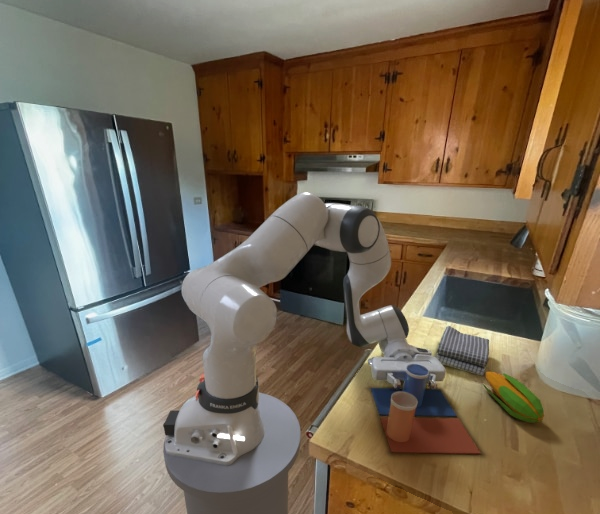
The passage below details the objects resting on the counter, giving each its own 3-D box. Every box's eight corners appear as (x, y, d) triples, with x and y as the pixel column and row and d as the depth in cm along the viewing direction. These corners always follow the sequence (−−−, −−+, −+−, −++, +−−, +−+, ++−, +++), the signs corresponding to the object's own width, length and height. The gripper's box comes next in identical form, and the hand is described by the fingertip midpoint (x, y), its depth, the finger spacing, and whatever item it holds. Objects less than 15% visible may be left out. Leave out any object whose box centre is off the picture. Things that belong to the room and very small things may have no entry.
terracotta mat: (391, 452, 73) (391, 451, 73) (380, 418, 83) (380, 417, 83) (480, 454, 73) (480, 453, 73) (458, 419, 84) (458, 418, 84)
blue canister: (404, 407, 87) (409, 376, 83) (398, 394, 92) (403, 363, 88) (425, 408, 87) (432, 376, 83) (418, 394, 92) (424, 363, 88)
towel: (432, 365, 107) (437, 344, 104) (440, 341, 122) (444, 322, 119) (485, 379, 100) (491, 357, 97) (486, 352, 115) (491, 332, 112)
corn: (531, 406, 77) (478, 360, 96) (520, 431, 80) (470, 382, 98) (558, 405, 78) (500, 360, 97) (546, 430, 81) (492, 382, 100)
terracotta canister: (389, 442, 76) (394, 407, 72) (383, 424, 81) (388, 391, 77) (414, 443, 76) (421, 408, 72) (406, 424, 81) (412, 391, 77)
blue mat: (379, 415, 84) (379, 414, 84) (370, 388, 95) (370, 388, 94) (456, 416, 85) (456, 415, 84) (439, 390, 95) (440, 389, 95)
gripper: (367, 348, 98) (377, 375, 85) (435, 350, 98) (456, 376, 85) (365, 366, 100) (375, 395, 88) (431, 367, 101) (451, 396, 88)
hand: (415, 386), depth 86 cm, fingers open, 8 cm apart
